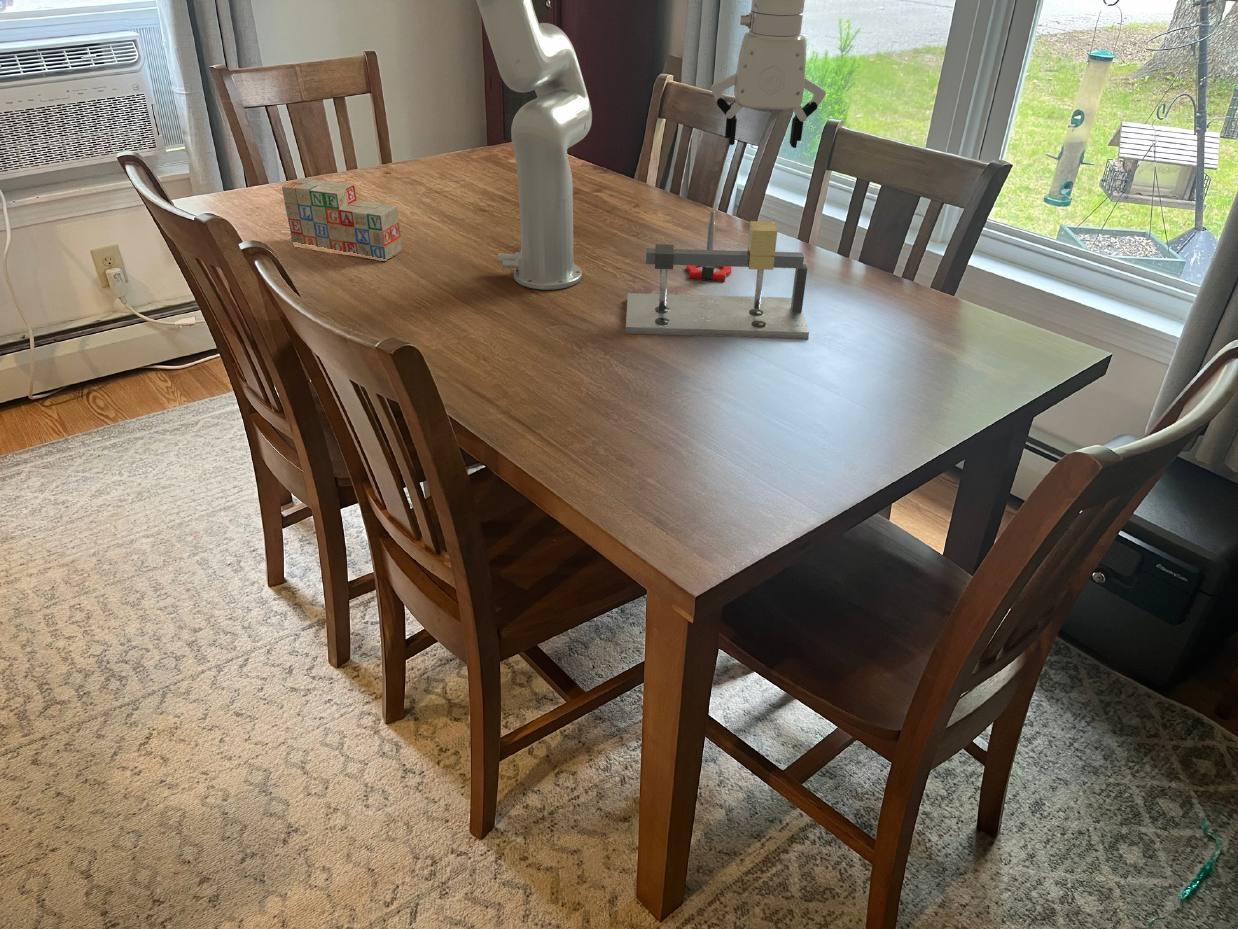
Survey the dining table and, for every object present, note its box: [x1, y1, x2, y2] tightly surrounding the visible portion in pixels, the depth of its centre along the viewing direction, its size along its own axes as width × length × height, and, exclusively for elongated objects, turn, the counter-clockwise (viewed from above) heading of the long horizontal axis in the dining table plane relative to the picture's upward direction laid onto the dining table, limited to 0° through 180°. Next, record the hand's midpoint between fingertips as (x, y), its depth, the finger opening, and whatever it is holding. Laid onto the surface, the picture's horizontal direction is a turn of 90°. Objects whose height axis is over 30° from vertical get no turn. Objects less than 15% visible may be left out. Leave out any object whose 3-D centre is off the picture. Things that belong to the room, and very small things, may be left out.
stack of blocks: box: [281, 177, 403, 259], centre depth 184 cm, size 21×6×12 cm, turn 70°
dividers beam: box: [645, 243, 808, 312], centre depth 161 cm, size 27×5×10 cm, turn 88°
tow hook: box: [686, 210, 732, 282], centre depth 177 cm, size 8×13×9 cm
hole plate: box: [625, 292, 810, 340], centre depth 162 cm, size 30×14×1 cm, turn 88°
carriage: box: [747, 220, 778, 309], centre depth 159 cm, size 4×4×14 cm
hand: (762, 144), depth 149 cm, fingers open, 9 cm apart
